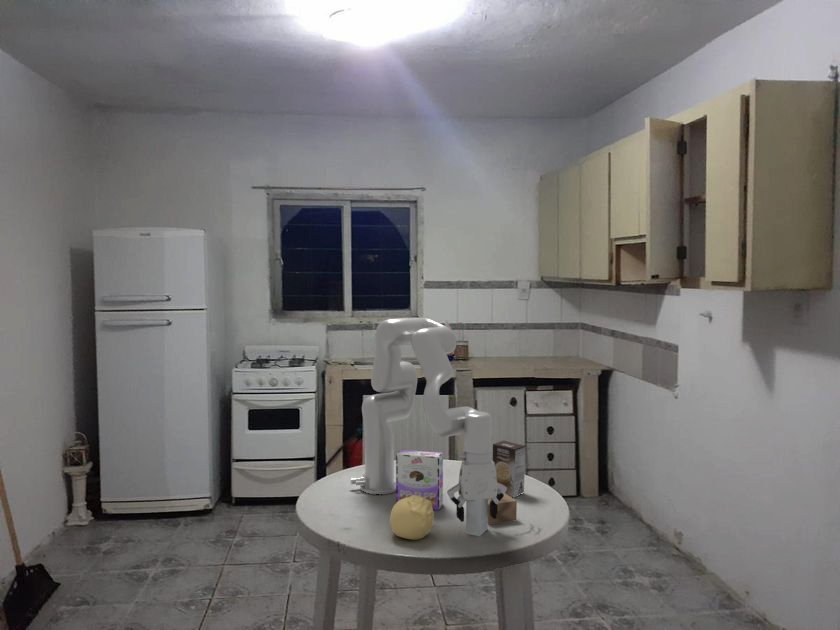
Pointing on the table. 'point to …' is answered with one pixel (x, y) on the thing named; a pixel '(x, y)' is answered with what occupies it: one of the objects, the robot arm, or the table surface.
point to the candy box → (420, 476)
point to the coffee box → (510, 466)
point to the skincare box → (476, 516)
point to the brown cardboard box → (504, 510)
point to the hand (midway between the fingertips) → (477, 518)
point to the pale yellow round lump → (412, 517)
